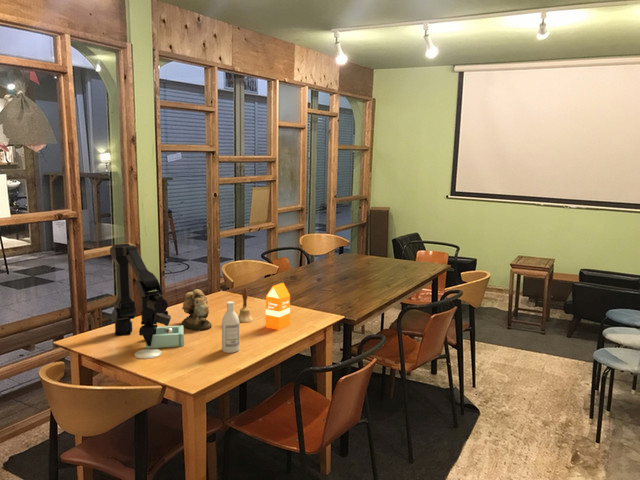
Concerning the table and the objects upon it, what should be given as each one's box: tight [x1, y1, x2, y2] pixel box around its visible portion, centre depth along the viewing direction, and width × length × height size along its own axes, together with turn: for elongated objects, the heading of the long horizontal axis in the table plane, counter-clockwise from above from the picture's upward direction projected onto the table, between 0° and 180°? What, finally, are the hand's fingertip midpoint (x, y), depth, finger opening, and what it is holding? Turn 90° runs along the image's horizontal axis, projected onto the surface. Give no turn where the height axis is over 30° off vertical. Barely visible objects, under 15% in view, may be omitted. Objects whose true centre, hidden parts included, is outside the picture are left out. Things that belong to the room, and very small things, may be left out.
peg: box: [165, 327, 172, 334], centre depth 221 cm, size 3×3×6 cm
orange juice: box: [265, 282, 291, 331], centre depth 243 cm, size 8×9×20 cm
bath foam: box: [221, 300, 240, 354], centre depth 211 cm, size 7×7×20 cm
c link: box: [144, 325, 185, 349], centre depth 220 cm, size 15×12×5 cm
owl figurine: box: [181, 288, 213, 332], centre depth 242 cm, size 18×12×17 cm, turn 48°
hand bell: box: [237, 287, 254, 324], centre depth 251 cm, size 8×8×16 cm
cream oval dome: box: [134, 348, 162, 360], centre depth 206 cm, size 10×10×1 cm
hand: (149, 345), depth 214 cm, fingers closed on c link
